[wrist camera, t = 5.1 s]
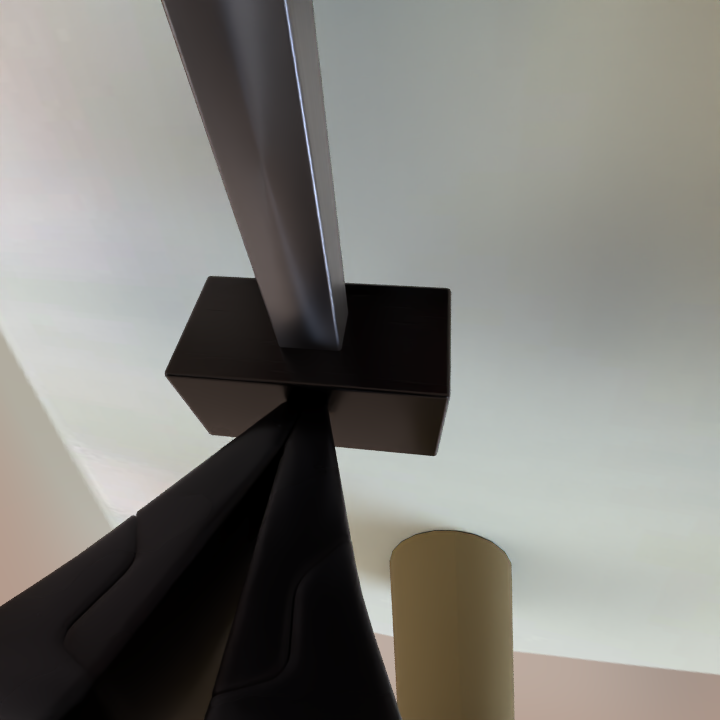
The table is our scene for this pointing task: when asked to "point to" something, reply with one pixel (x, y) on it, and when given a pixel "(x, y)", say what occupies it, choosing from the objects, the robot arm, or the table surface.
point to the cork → (452, 628)
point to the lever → (295, 253)
